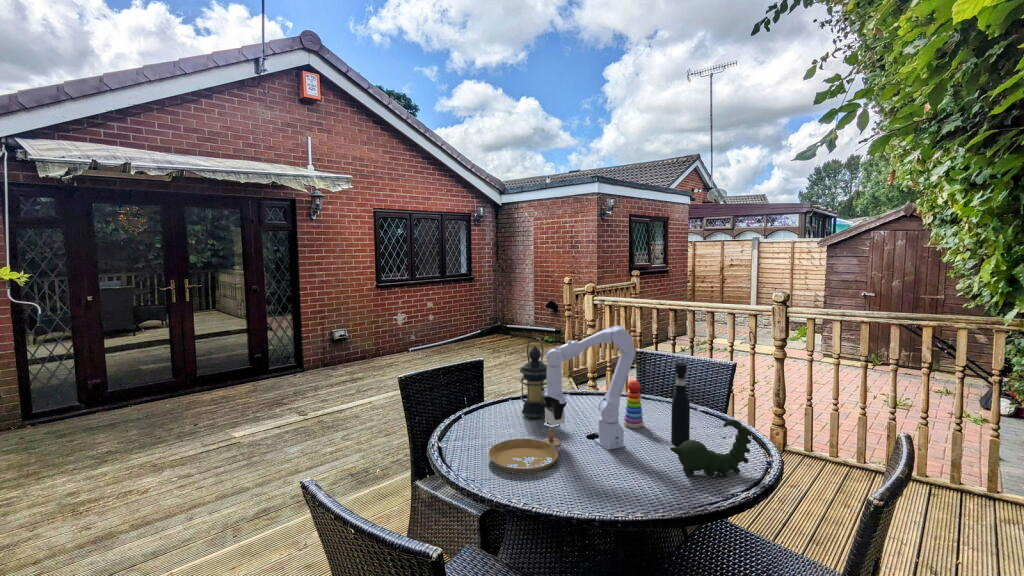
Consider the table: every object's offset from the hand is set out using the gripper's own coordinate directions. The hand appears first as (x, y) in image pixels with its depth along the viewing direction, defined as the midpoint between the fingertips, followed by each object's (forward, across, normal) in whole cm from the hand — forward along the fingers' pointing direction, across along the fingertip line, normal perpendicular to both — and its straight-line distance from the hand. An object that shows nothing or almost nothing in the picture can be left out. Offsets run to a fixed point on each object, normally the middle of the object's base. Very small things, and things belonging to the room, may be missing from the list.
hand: (554, 416), depth 178 cm
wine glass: (+10, -18, +7) cm, 22 cm away
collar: (+2, 0, 0) cm, 2 cm away
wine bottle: (+10, +19, +42) cm, 48 cm away
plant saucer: (+11, +10, -17) cm, 22 cm away
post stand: (+10, 0, -2) cm, 10 cm away
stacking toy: (+10, -3, +37) cm, 39 cm away
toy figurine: (+10, +42, +35) cm, 55 cm away
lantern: (+10, -30, +5) cm, 32 cm away
